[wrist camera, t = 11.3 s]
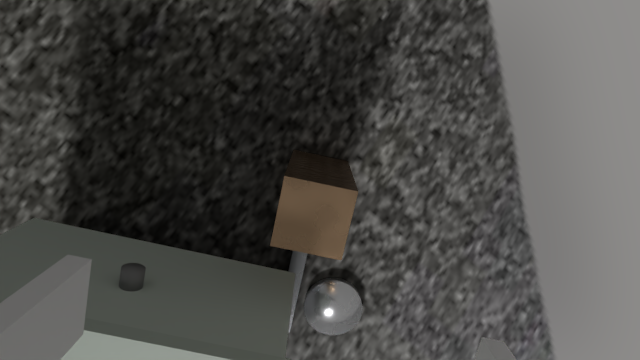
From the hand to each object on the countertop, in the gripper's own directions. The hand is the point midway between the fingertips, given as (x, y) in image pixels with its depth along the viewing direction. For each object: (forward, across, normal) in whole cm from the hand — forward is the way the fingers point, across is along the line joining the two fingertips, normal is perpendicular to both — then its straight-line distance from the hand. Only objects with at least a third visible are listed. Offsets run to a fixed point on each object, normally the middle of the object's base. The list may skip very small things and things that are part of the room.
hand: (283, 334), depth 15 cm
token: (+23, +5, -10) cm, 26 cm away
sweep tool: (+23, +1, -5) cm, 23 cm away
